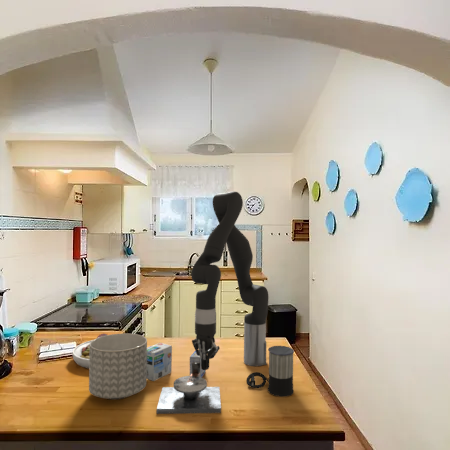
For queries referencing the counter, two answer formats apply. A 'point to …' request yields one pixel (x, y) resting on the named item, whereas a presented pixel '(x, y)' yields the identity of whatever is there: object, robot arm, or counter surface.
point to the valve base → (189, 401)
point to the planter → (117, 365)
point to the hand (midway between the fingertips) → (205, 369)
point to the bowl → (83, 353)
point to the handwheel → (191, 381)
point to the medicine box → (197, 358)
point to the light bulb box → (159, 361)
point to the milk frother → (277, 372)
